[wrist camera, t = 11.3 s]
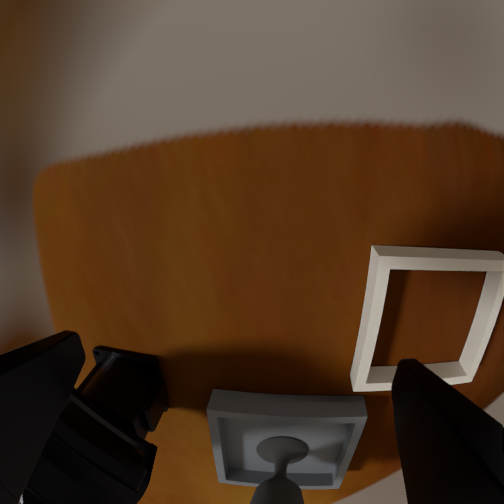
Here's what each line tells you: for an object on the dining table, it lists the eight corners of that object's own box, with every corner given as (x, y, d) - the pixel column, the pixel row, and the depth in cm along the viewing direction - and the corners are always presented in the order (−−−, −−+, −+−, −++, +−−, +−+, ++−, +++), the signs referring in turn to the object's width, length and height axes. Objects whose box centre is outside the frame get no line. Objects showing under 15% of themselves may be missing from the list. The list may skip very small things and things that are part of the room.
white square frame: (350, 374, 23) (353, 391, 21) (371, 245, 19) (379, 255, 18) (463, 367, 22) (471, 381, 20) (499, 251, 18) (512, 260, 16)
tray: (223, 464, 29) (218, 482, 27) (213, 388, 25) (206, 409, 23) (337, 470, 28) (338, 488, 25) (363, 395, 24) (367, 416, 21)
